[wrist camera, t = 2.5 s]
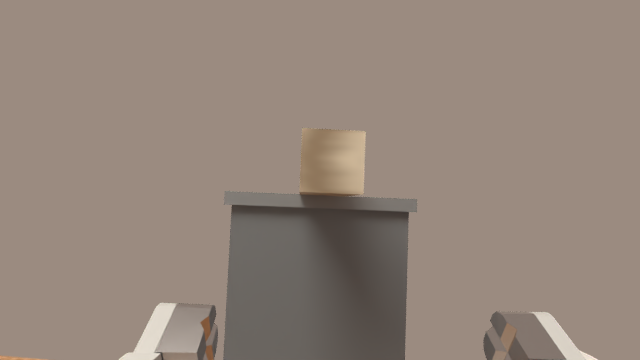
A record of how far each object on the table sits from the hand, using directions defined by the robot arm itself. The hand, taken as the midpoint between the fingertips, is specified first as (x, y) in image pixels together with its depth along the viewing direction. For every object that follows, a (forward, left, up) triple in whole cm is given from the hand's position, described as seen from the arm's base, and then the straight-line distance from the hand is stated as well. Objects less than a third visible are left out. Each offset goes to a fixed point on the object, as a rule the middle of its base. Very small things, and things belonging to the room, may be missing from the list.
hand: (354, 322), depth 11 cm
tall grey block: (0, +23, -22) cm, 32 cm away
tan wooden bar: (0, +21, +4) cm, 21 cm away
